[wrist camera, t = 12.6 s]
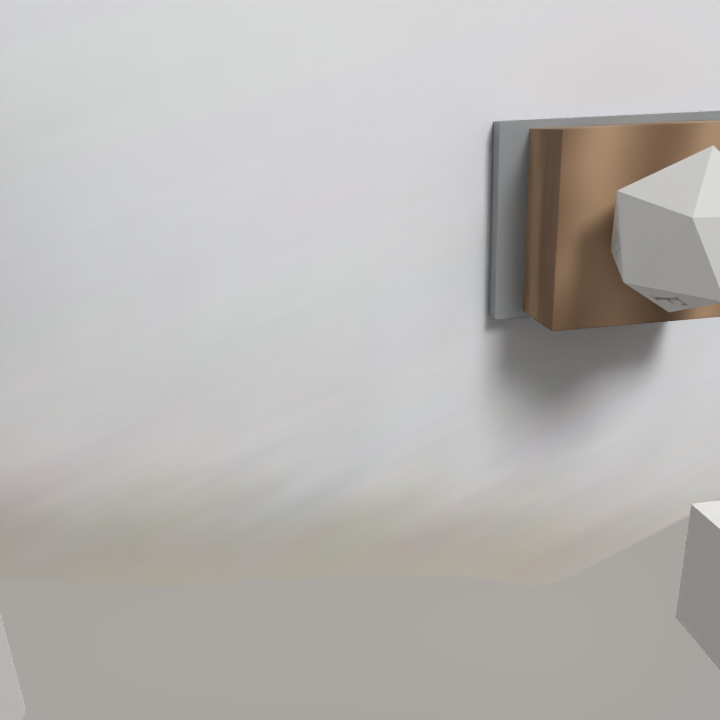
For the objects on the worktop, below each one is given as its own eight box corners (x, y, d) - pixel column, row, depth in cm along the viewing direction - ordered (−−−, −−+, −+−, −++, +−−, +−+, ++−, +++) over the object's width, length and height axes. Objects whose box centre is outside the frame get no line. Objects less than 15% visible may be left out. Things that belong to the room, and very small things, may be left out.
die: (559, 190, 41) (610, 320, 36) (694, 87, 36) (777, 220, 31) (631, 243, 46) (685, 363, 41) (758, 158, 41) (840, 283, 36)
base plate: (489, 315, 49) (495, 319, 48) (493, 121, 45) (499, 121, 43) (699, 298, 51) (709, 302, 50) (722, 110, 47) (734, 110, 45)
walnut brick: (523, 310, 48) (552, 331, 43) (529, 128, 44) (562, 129, 39) (684, 297, 49) (729, 315, 45) (705, 119, 45) (757, 119, 41)
